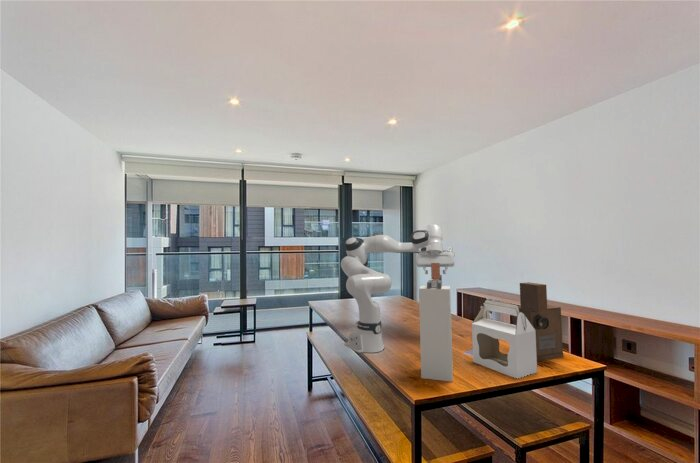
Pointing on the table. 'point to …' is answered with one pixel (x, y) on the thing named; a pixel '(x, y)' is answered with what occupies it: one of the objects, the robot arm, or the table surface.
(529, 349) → the gable box
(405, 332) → the table surface
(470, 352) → the mobile phone
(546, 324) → the vintage camera
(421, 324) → the post
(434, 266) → the brown flat block
